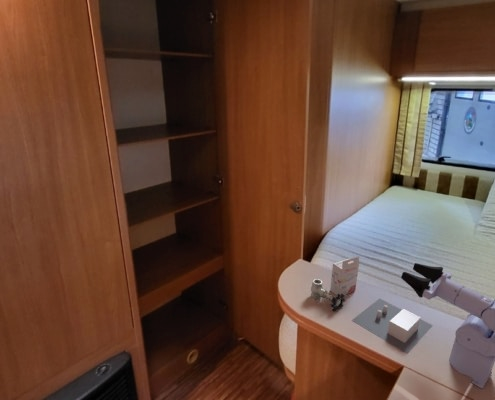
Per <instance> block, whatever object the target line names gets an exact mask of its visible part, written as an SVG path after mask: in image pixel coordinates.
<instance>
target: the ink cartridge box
mask: <svg viewBox="0 0 495 400" xmlns="http://www.w3.org/2000/svg"><path fill="white" fill-rule="evenodd" d="M359 266H360V256H355V257H352V258H349V257H348V258H346V259H343V260H340V261H337V262H333V263H332V267H331V268H332V269H331V277H330V278H331V281H330V289H329V291H330V292H331V293H333V294H334V295H336V296H337V294H340V295H341V294H343V295H344V296H346V295H347V294H351V293H352V292H355V291H356V289H357V288H356V287H357V281H358V273H359Z"/></svg>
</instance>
